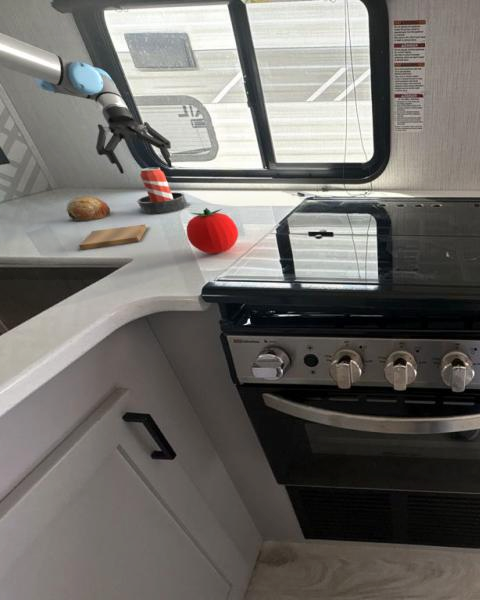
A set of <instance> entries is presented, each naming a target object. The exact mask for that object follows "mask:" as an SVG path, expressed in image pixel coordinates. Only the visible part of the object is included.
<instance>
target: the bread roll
mask: <svg viewBox="0 0 480 600" xmlns="http://www.w3.org/2000/svg"><path fill="white" fill-rule="evenodd" d="M66 212H67V214H68V217H69V218H70V220H71V221H75V222H76V221H77V222H78V221H81V222H89V221H94V220H99V219H102V218H105V217H107V216H109V215H110V214H111V208H110V207H109V205H107V203H106V202H104V200H101V199H100V198H98V197H94V196H88V195H83V196H82V195H80V196H75V197H73V198H72V199H71V200H69V202H68V203H67V206H66Z"/></svg>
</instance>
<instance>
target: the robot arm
mask: <svg viewBox="0 0 480 600" xmlns="http://www.w3.org/2000/svg"><path fill="white" fill-rule="evenodd" d="M0 67H2V68H5V69H8V70H11V71H14V72H17V73H20V74H23V75H26V76H29V77H32V78H34V79H35V81H36V84H37V85H38V87H39V88H40V89H42V90H45V91H48V92H51V93H54V94H61V95H66V96H72V97H78V98H82V99H87V100H91V101H94V102H95V103H96V105H97V107H98V108H99V111H100V112H101V113H102V115H103V118H104V119H105V121H106V123H107V125H108V126H103V125H102V124H99V123H98V124H97V128H98V134H97V140H96V146H95V149H96V152H97V154H98V156H103V155H104V156H106V157H107V159H108V161H109V162H110V163H111V164H112V165H113V164H114V165H115V166H116V167H117V169H118V170H119V172H120V174H124V173H125V172H124V168H123V166H122V164H121V163H120V160H119V159H118V157H117V156H116V154H115V152H114V151H115V150H116V148H117V146H118V145H119V143H121V142H122V140H124V141H128V140H136V139H137V140H140V141H144V142H146V143H147V144H150V145H152V146H154V147H155V148H157V149H159V151H160V154H161V155H162V157H163V160H164V161H165V162H166V164H167V166H168V168H169V169H171V168H173V165H172V161H171V159H170V158H171V153H170V150H169V149H171V147H172V146H171V145H172V143H171V141H170V140H168V139H167V138H166V137H165V136H164V135H162V134H161V133H159V132H158V131H157V130H155V129H154V128H153V127H151V125H150V124H149V123H148V122H147V121H144V122H143V124H138V122H137V121H136V120H135V118H134V116H133V114H132V113H131V111H130V109H129V108H128V106H127V104H126V102H125V100H124V99H123V97H122V95H121V93H120V91H119V90H118V87H117V85H116V83H115V82H114V80H113V79H112V78H111V76H110V74H108V73H107V72H106V71H105V70H104V69H102V68H99V67H94V66H92V65H90V64H88V63H86V62H81V61H72V60H71V59H69V58H68V59H67V58H65V57H63V56H59V55H57V54H55V53H52V52H50V51H47V50H45V49H42V48H39V47H37V46H34V45H32V44H29V43H27V42H24V41H23V40H19V39H17V38H14V37H12V36H9V35H7V34H4V33H2V32H0ZM109 132H111V134H112V135H111V137H110V139H109V140H108V142H107V143H106V139H107V136H108V134H109Z"/></svg>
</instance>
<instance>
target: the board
mask: <svg viewBox="0 0 480 600" xmlns="http://www.w3.org/2000/svg"><path fill="white" fill-rule="evenodd" d="M146 231H147V225H146V224H138V225H130V226H122V227H114V228H106V229H98V230H92V231H91V232H90V233H89V234H88V235H87V236H86V237H85V238H84V239H83V240H82V241H81V242H80V243H79V244H78V247H79V248H80V250H88V249H90V250H91V249H97V248H103V247H111V246H117V245H125V244H132V243H138V242H140V240H141V239H142V238H143V236H144V234H145V232H146Z"/></svg>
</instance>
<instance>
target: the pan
mask: <svg viewBox="0 0 480 600" xmlns="http://www.w3.org/2000/svg"><path fill="white" fill-rule="evenodd" d="M171 193H172V196H173V199H172V200H168V201H162V202H151V200H150V198H149V195H146V196H141V197H140V198H138V199H137V200H136V202H137V203H138V204H137V205H138V206H139V208H140V211H141V212H142V213H143V214H147V215H157V214H166V213H167V214H168V213H172V212H177V211H180V210H183V209H185V208H187V207H188V200H187V198H186V195H185V193H183V192H176V191H175V192H174V191H173V192H172V191H171Z"/></svg>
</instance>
